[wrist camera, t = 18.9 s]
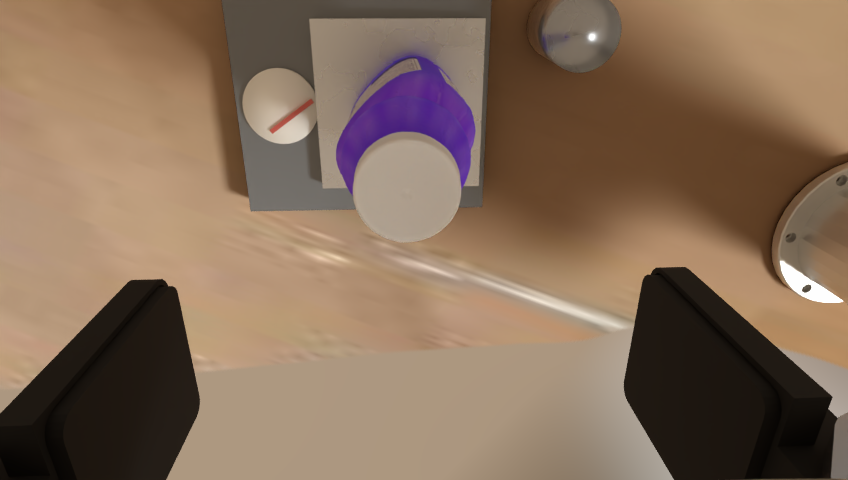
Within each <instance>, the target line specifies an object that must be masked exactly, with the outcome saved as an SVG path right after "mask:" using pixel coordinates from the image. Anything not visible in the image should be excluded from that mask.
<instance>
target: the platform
mask: <svg viewBox="0 0 848 480" xmlns="http://www.w3.org/2000/svg"><path fill="white" fill-rule="evenodd" d="M309 22H310V35H311V47H312V60H313V72H314V85H315V97H316V110H317V122H318V135H319V147H320V160H321V172H322V185H323V189H326V188H347V186H346V183H345V181H344V179H343V177H342V174H340V171H339V168H338V165H337V161H336V148H337V143H338V141H339V138H340V136H341V134H342V132H343V130H344V128H345V127H346V124H347V122H348V120H349V117H350V114H351V111H352V108H353V106H354V104H355V102H356V101H357V99H358V97H359V96H360V95H361V93H362V92H363V91H364V89H365V88H366V87H367V86H368V84H369V83H370V82H371V81H372V80H373V79H374V78H375V77H376V76H377V75H378V74H379V73H380V72H381V71H382V70H383V69H385V68H386V67H387V66H388V65H390V64H391V63H393V62H395V61H396V60H398V59H400V58H403V57H406V56H420V57H424V58H426V59H428V60H430V61H432V62H433V63H434V64H435V65H437V66H439V67H440V68H441V69H442V70H443V71H444V72H445V73H446V74H447V75H448V76H449V78H450V79H451V81H452V83H453V84H454V85H455V86H456V88H457V89H458V90H459V92H460V94H461V95H462V96H463V98H464V99H465V101H466V102H467V104H468V105H469V107H470V108H471V111H472V114H473V118H474V123H475V130H476V131H475V138H474V143H473V146H472V148H471V166H470V170H469V173H468V176H467V179H466V182H465V184H464V186H479V168H480V144H481V120H482V96H483V73H484V49H485V25H486V18H311V19H309Z"/></svg>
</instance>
